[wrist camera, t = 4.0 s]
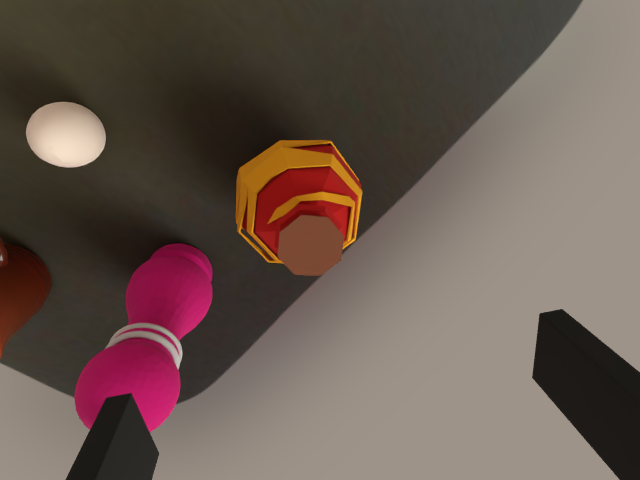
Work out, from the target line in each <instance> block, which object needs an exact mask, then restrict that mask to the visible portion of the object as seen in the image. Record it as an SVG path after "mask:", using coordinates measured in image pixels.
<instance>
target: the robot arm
mask: <svg viewBox="0 0 640 480" xmlns="http://www.w3.org/2000/svg"><path fill="white" fill-rule="evenodd" d="M532 378H533V379H534V380H535V381H536V383H537V384H538V385H539V386H540V387H541V388H542V390H543V391H544V392H545V393H546V394H547V395H548V397H549V398H550V399H551V400H552V401H553V402H554V404H555V405H556V406H557V407H558V408H559V409H560V411H561V412H562V413H563V414H564V415H565V416H566V418H567V419H568V420H569V421H570V422H571V423H572V425H573V426H574V427H575V428H576V429H577V430H578V432H579V433H580V434H581V435H582V436H583V437H584V439H585V440H586V441H587V442H588V443H589V444H590V446H591V447H593V449H594V450H595V451H596V453H597V454H598V455H599V456H600V457H601V458H602V460H603V461H604V462H605V463H606V464H607V465H608V467H609V468H610V469H611V470H612V471H613V472H614V474H615V475H616V476H617V477H618V478H619V479H620V480H640V372H639V371H637V370H636V369H635V368H634V367H632V366H631V365H630V364H629V363H627V362H626V361H625V360H624V359H623V358H621V357H620V356H619V355H618V354H617V353H615V352H614V351H613V350H612V349H610V348H609V347H608V346H607V345H605V344H604V343H603V342H601V340H599V339H598V338H597V337H595V336H594V335H593V334H592V333H591V332H590V331H588V330H587V329H586V328H585V327H583V326H582V325H581V324H580V323H579V322H577V321H576V320H575V319H574V318H572V317H571V316H570V315H569V314H567V313H566V312H565V311H564V310H562V309H560V310H555V311H550V312H545V313H540V315H539V325H538V333H537V341H536V351H535V359H534V368H533V376H532ZM158 456H159V452H158V450H157V448H156V446H155V443H154V441H153V439H152V437H151V435H150V432H149V430H148V428H147V426H146V424H145V421H144V419H143V417H142V415H141V413H140V410H139V408H138V406H137V404H136V402H135V399H134V397H133V395H132V393H127V394H122V395H117V396H112V397H107V398H106V399H105V401H104V403H103V405H102V407H101V409H100V411H99V413H98V415H97V417H96V419H95V421H94V423H93V425H92V427H91V429H90V432H89V433H88V435H87V437H86V439H85V441H84V443H83V446H82V448H81V450H80V452H79V454H78V456H77V458H76V460H75V462H74V464H73V466H72V468H71V470H70V472H69V474H68V476H67V478H66V480H152V476H153V473H154V470H155V466H156V463H157V459H158Z"/></svg>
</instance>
